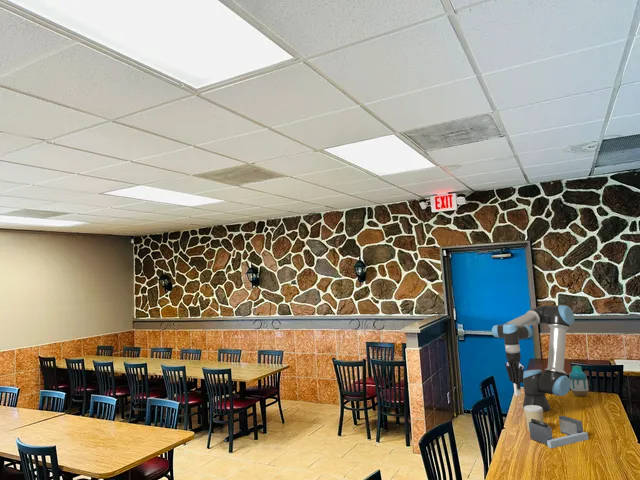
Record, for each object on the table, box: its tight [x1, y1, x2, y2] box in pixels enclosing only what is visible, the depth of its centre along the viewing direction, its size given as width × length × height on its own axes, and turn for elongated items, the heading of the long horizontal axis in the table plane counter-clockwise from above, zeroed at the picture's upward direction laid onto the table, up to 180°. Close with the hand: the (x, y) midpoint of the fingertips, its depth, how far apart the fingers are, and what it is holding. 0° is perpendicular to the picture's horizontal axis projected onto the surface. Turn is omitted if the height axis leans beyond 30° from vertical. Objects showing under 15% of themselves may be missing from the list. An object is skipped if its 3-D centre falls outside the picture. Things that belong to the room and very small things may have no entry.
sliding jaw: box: [529, 419, 554, 445], centre depth 214 cm, size 11×4×10 cm, turn 19°
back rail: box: [546, 431, 589, 449], centre depth 210 cm, size 2×24×3 cm, turn 109°
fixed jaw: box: [558, 415, 584, 436], centre depth 220 cm, size 11×4×8 cm, turn 19°
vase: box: [568, 365, 590, 397], centre depth 291 cm, size 11×11×19 cm
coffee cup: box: [523, 405, 544, 433], centre depth 231 cm, size 9×9×12 cm
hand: (517, 395), depth 241 cm, fingers closed
